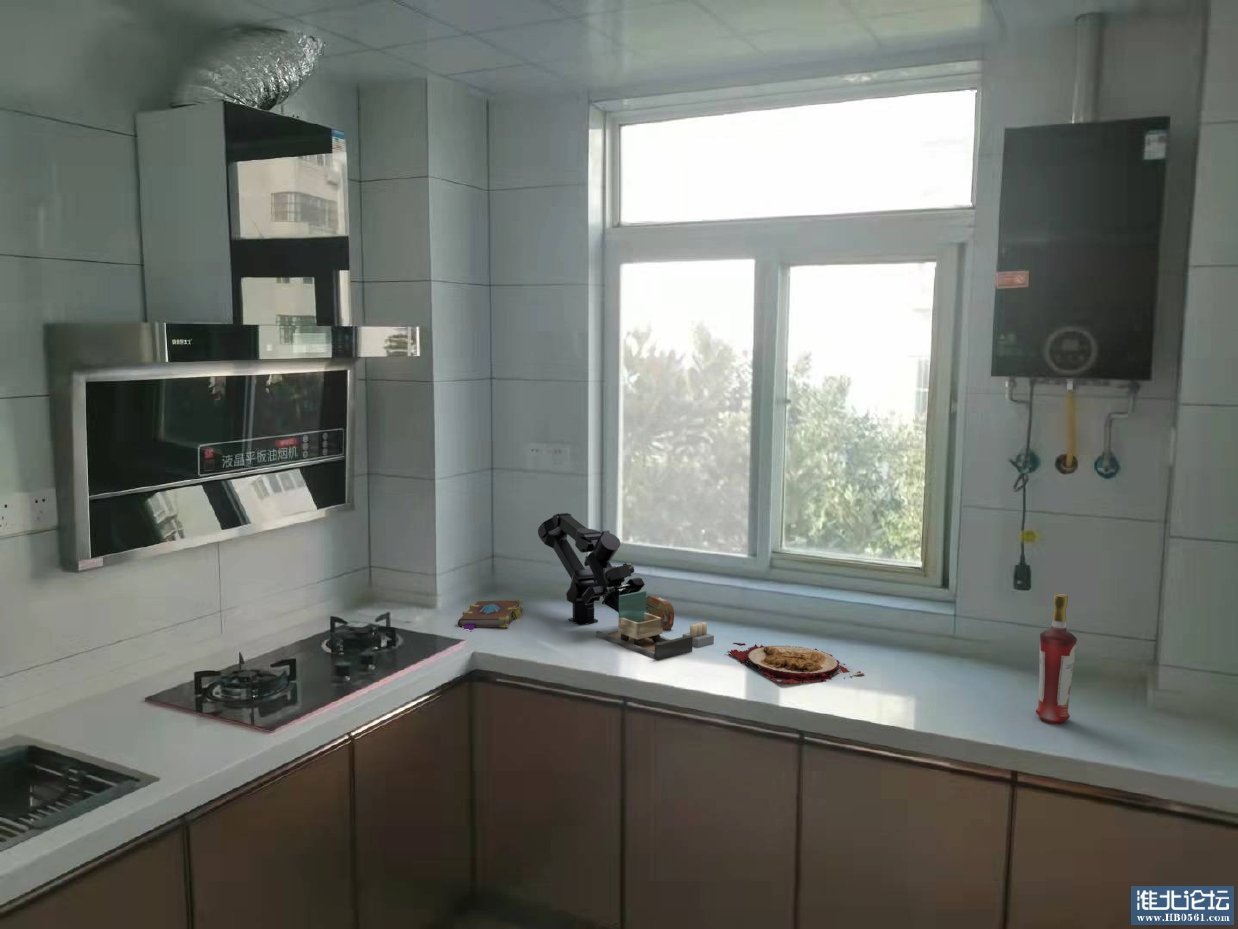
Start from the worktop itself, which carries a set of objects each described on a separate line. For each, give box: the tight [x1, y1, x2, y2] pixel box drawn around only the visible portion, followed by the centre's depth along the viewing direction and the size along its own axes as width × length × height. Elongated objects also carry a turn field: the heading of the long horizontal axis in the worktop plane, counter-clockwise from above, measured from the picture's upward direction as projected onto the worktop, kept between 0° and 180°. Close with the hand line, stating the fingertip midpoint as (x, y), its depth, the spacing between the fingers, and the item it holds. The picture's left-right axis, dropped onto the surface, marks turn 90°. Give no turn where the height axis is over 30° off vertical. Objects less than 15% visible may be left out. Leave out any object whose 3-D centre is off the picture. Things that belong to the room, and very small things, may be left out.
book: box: [457, 599, 524, 633], centre depth 279 cm, size 16×25×5 cm, turn 173°
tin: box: [646, 595, 675, 631], centre depth 275 cm, size 15×3×8 cm, turn 25°
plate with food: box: [727, 642, 865, 685], centre depth 243 cm, size 25×26×4 cm
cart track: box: [595, 630, 693, 661], centre depth 256 cm, size 26×12×5 cm, turn 40°
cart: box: [617, 590, 664, 646], centre depth 256 cm, size 8×9×13 cm
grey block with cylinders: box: [682, 621, 715, 648], centre depth 258 cm, size 6×6×6 cm
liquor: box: [1035, 593, 1078, 724], centre depth 208 cm, size 7×7×28 cm
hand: (627, 616), depth 261 cm, fingers closed
